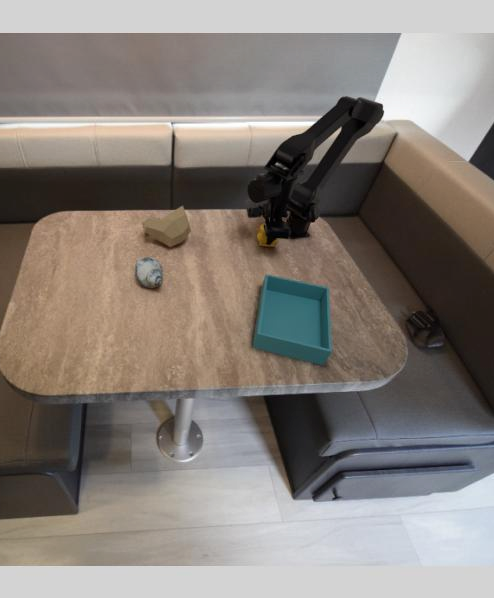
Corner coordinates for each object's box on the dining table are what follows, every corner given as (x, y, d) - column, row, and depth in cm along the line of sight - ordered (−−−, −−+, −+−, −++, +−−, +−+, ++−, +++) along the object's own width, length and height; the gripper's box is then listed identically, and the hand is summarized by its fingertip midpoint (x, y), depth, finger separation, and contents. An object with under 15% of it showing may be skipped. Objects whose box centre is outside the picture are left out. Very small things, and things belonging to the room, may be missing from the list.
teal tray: (261, 288, 92) (265, 274, 88) (321, 301, 89) (329, 287, 85) (252, 347, 78) (257, 333, 75) (323, 365, 75) (332, 351, 72)
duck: (277, 240, 106) (283, 222, 102) (279, 248, 103) (285, 229, 99) (252, 238, 107) (257, 220, 102) (253, 246, 104) (258, 227, 99)
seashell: (158, 270, 98) (155, 300, 90) (134, 260, 96) (128, 290, 88) (169, 254, 94) (166, 284, 85) (143, 243, 92) (138, 273, 83)
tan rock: (197, 237, 108) (176, 207, 109) (204, 222, 97) (180, 190, 99) (157, 262, 105) (136, 232, 107) (159, 250, 95) (135, 216, 96)
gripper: (248, 173, 100) (238, 220, 111) (253, 208, 87) (241, 257, 98) (287, 176, 99) (273, 223, 111) (299, 211, 86) (281, 260, 98)
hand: (267, 240), depth 104 cm, fingers closed on duck, 4 cm apart
